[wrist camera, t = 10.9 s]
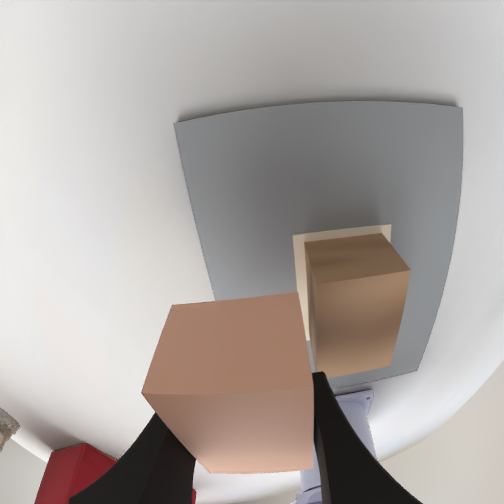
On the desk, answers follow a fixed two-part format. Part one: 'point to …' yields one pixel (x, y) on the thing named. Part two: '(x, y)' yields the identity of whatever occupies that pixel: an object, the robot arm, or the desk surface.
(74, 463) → the storage cube
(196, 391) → the terracotta block
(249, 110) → the board
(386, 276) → the walnut block
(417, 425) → the desk surface
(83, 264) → the desk surface
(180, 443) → the robot arm
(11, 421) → the stone castle ruin
